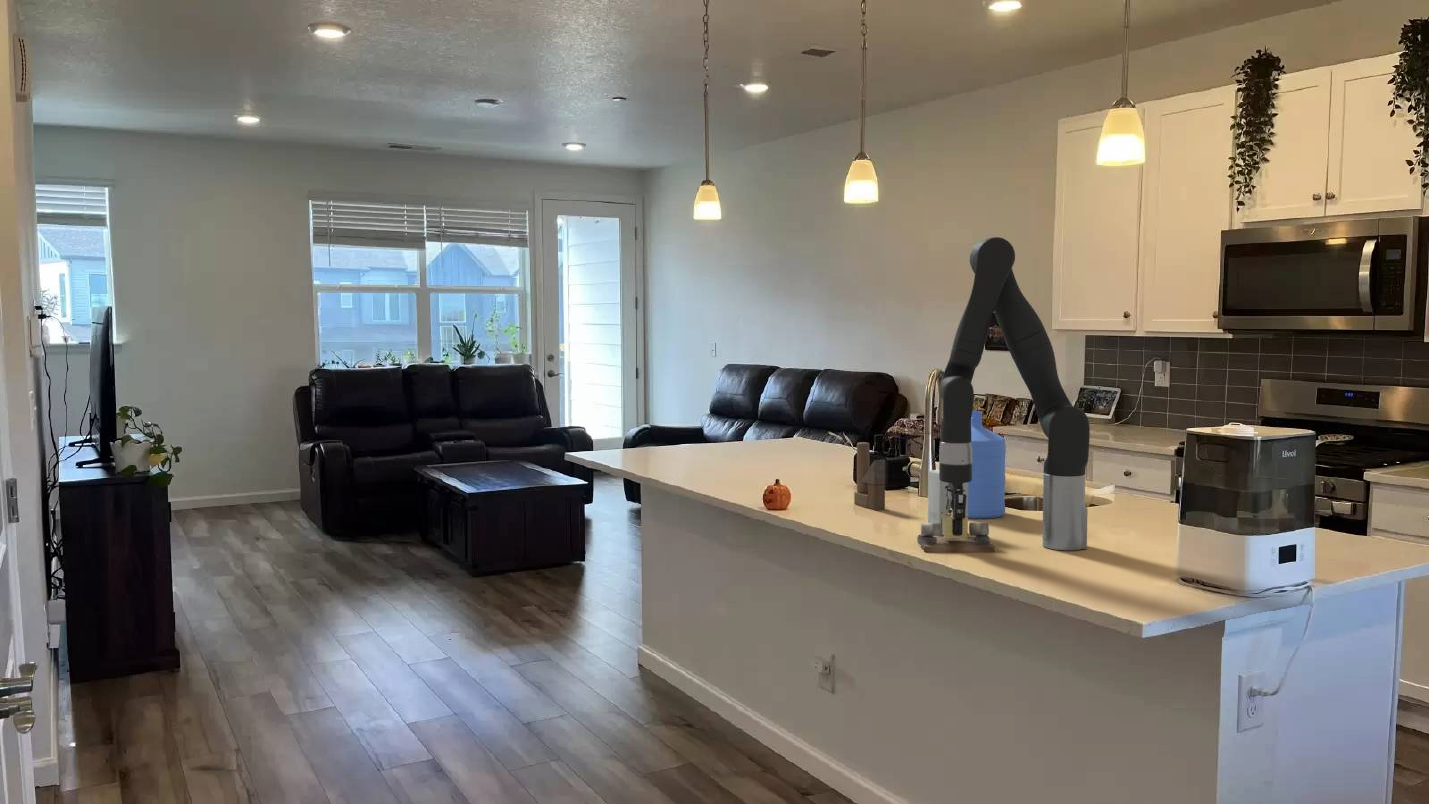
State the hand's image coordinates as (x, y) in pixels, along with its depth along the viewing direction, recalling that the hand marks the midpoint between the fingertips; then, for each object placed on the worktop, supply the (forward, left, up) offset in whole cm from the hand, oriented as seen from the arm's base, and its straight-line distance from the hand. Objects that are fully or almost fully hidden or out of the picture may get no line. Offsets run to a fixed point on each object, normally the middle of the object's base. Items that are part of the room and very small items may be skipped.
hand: (955, 532), depth 242 cm
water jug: (-13, -40, -4) cm, 42 cm away
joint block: (0, 0, -1) cm, 1 cm away
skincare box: (-1, -16, -4) cm, 16 cm away
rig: (0, 0, -3) cm, 3 cm away
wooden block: (+15, -51, -4) cm, 53 cm away
